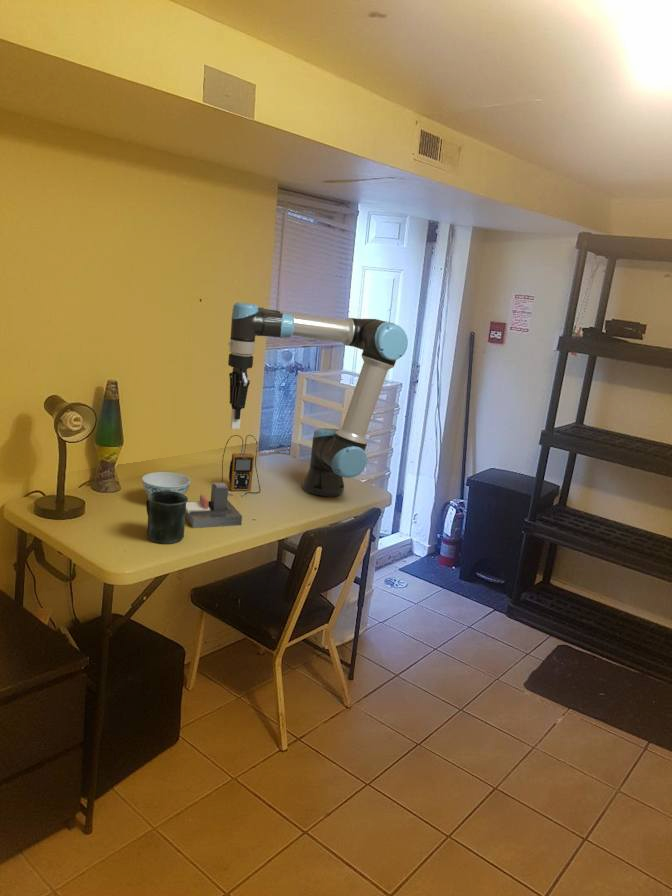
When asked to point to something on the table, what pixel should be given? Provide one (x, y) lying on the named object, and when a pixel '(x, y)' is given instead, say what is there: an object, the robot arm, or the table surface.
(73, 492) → the table surface
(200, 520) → the socket plate
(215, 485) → the gray rectangular block
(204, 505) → the shutter
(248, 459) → the multimeter
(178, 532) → the mug
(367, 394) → the robot arm
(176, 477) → the chinaware
